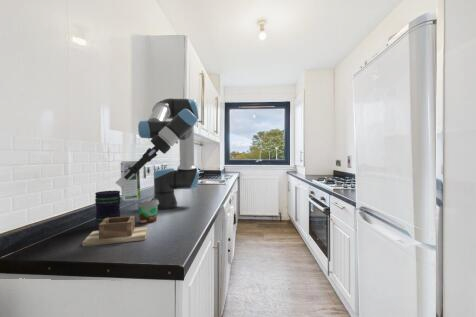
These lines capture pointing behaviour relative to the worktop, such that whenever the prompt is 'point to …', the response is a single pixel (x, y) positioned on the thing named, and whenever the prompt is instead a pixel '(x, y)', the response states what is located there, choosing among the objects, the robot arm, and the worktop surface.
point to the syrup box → (130, 182)
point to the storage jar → (107, 205)
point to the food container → (148, 211)
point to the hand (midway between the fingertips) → (120, 184)
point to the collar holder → (116, 231)
